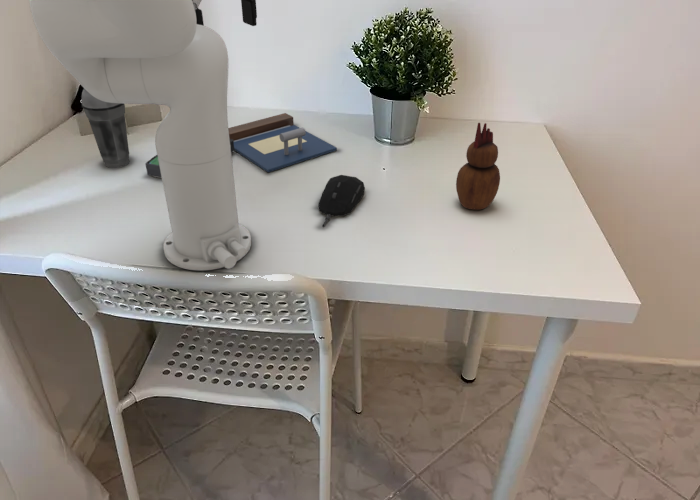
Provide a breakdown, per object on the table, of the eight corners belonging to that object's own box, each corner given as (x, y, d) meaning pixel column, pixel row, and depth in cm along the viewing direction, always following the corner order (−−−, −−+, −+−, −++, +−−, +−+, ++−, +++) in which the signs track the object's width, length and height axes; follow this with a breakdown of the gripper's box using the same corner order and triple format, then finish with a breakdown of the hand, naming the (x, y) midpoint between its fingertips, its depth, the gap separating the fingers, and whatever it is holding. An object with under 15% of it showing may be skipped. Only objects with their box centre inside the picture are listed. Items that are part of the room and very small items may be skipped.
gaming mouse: (304, 223, 92) (303, 201, 90) (335, 182, 104) (335, 162, 101) (342, 230, 90) (342, 208, 88) (369, 188, 102) (370, 167, 100)
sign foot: (293, 125, 125) (293, 116, 124) (223, 145, 116) (222, 136, 115) (285, 121, 127) (285, 112, 126) (216, 140, 118) (214, 131, 117)
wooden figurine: (463, 216, 95) (475, 129, 86) (448, 199, 99) (459, 115, 91) (500, 211, 96) (516, 125, 88) (485, 194, 101) (498, 111, 92)
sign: (336, 150, 115) (336, 126, 112) (268, 172, 106) (266, 147, 104) (293, 126, 125) (292, 103, 122) (226, 145, 116) (223, 121, 113)
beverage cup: (143, 155, 112) (122, 49, 101) (127, 172, 106) (103, 61, 95) (107, 153, 112) (81, 47, 101) (89, 170, 106) (60, 59, 95)
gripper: (169, -86, 78) (188, 44, 88) (275, -93, 87) (281, 25, 97) (144, -91, 83) (165, 33, 93) (247, -97, 92) (256, 16, 102)
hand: (224, 29), depth 95 cm, fingers open, 9 cm apart
